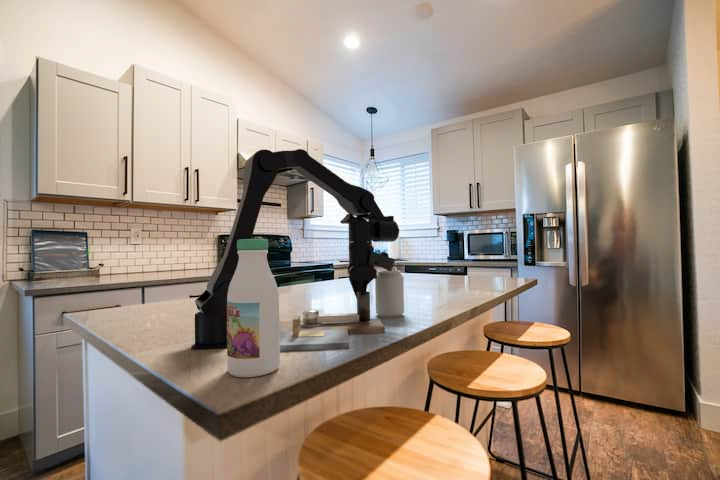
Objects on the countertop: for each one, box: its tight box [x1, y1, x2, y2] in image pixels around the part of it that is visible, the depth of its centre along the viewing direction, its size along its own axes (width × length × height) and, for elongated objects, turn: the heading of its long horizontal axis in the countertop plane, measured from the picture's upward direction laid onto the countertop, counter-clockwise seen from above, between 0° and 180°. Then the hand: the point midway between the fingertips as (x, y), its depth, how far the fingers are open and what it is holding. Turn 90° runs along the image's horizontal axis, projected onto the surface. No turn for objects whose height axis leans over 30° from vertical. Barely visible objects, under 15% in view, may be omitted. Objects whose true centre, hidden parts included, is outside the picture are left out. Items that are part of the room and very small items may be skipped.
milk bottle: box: [226, 238, 281, 378], centre depth 53 cm, size 8×8×20 cm
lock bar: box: [302, 290, 371, 324], centre depth 79 cm, size 15×4×6 cm, turn 94°
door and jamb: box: [279, 314, 386, 352], centre depth 73 cm, size 24×20×4 cm
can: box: [374, 269, 405, 319], centre depth 92 cm, size 8×8×12 cm
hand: (361, 305), depth 85 cm, fingers closed
